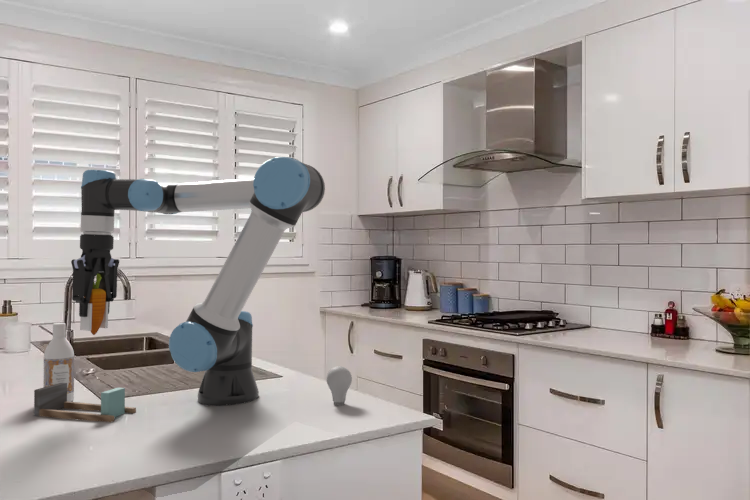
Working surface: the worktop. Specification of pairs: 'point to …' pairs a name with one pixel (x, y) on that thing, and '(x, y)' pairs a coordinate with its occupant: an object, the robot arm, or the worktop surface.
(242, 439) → the worktop surface
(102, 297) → the carrot
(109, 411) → the cap
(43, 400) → the track
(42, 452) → the worktop surface
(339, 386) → the lightbulb
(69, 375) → the bath foam
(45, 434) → the worktop surface
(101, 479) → the worktop surface
